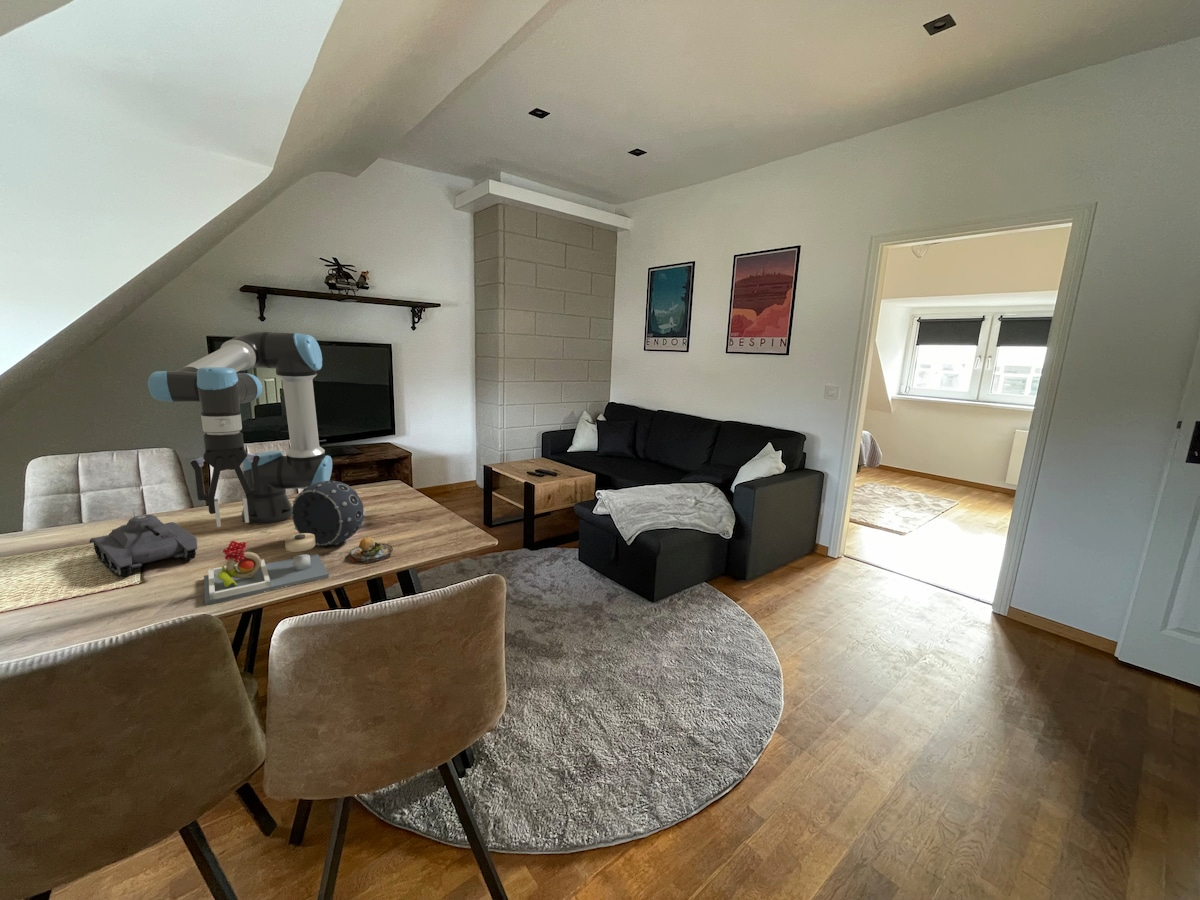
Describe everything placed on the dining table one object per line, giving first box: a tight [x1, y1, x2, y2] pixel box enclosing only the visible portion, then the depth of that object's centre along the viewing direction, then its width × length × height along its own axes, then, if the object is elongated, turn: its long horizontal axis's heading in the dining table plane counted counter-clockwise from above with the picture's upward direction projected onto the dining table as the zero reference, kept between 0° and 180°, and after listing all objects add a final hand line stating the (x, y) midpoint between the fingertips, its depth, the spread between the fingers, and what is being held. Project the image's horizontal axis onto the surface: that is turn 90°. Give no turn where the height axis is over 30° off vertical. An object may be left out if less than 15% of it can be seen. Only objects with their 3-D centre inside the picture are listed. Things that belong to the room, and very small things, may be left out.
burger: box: [348, 535, 393, 564], centre depth 144 cm, size 12×12×8 cm
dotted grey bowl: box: [291, 480, 365, 547], centre depth 150 cm, size 11×20×20 cm, turn 78°
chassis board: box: [203, 552, 330, 606], centre depth 127 cm, size 16×26×4 cm, turn 129°
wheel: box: [284, 533, 317, 553], centre depth 131 cm, size 7×7×3 cm
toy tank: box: [88, 509, 198, 578], centre depth 134 cm, size 18×25×15 cm
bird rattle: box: [218, 540, 261, 587], centre depth 123 cm, size 6×11×9 cm
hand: (233, 523), depth 121 cm, fingers open, 5 cm apart
